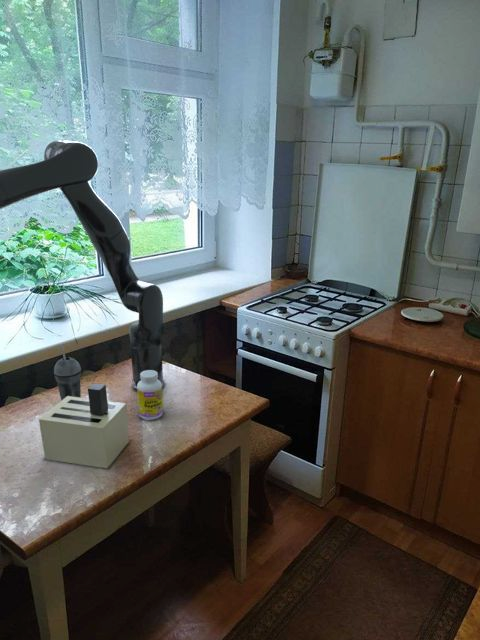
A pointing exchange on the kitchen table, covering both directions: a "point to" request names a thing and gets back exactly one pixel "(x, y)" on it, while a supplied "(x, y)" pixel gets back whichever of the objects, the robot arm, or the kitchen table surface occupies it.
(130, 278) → the robot arm
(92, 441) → the toaster
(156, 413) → the supplement bottle
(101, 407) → the slider
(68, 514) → the kitchen table surface
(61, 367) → the beverage cup
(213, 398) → the kitchen table surface
